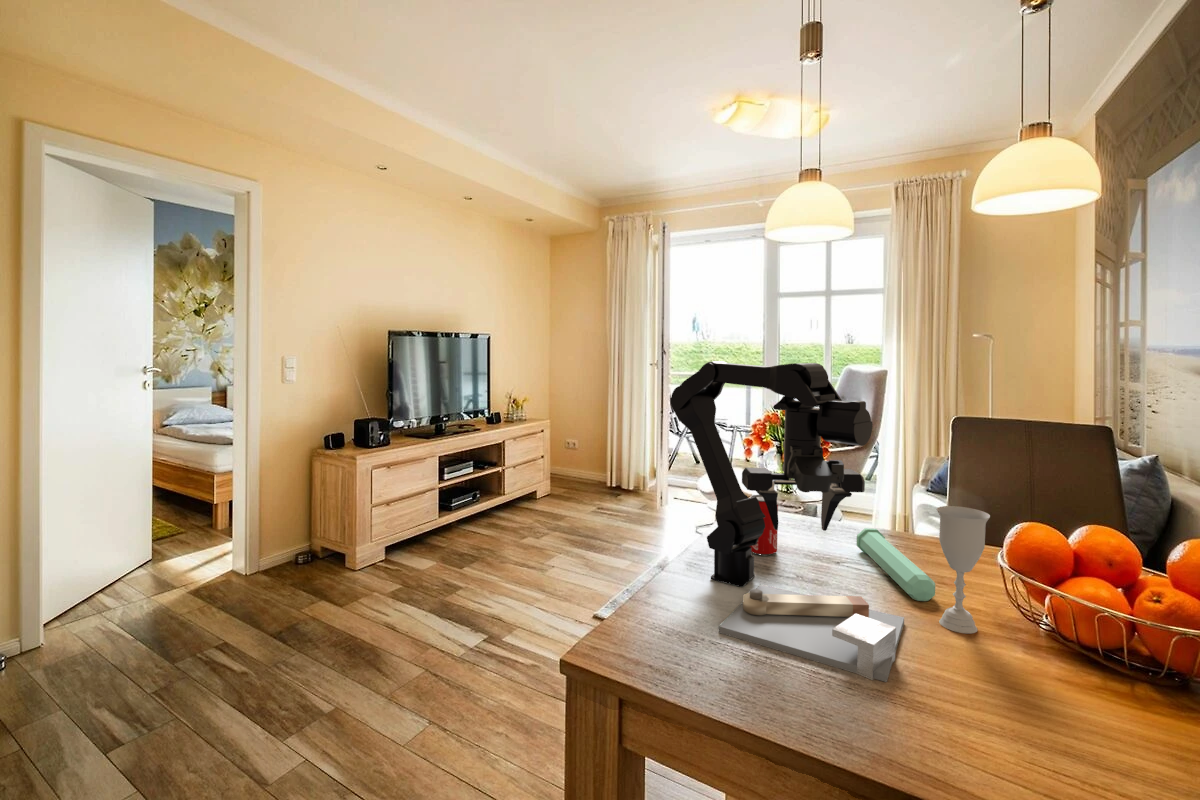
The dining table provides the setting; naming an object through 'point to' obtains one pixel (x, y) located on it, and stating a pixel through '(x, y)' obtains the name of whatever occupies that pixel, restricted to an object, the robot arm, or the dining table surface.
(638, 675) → the dining table surface
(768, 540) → the soda can
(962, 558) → the chalice
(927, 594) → the green octagonal rod
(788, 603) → the latch arm
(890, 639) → the block
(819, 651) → the base board
